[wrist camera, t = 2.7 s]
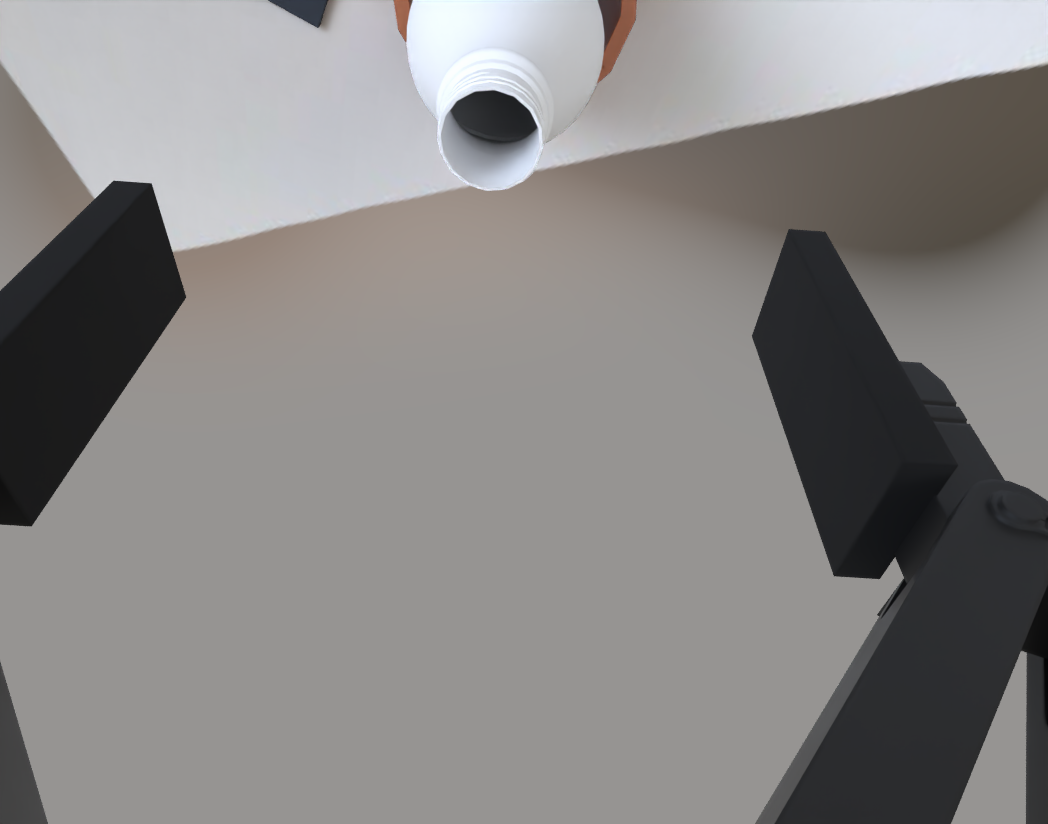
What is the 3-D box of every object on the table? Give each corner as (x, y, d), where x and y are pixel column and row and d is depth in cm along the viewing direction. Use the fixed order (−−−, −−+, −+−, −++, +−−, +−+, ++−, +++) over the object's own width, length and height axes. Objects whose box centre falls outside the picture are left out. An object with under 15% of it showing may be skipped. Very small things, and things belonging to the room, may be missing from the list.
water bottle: (432, -19, 39) (324, 186, 21) (492, -166, 35) (423, -68, 17) (545, 50, 41) (537, 291, 23) (615, -79, 37) (673, 91, 19)
